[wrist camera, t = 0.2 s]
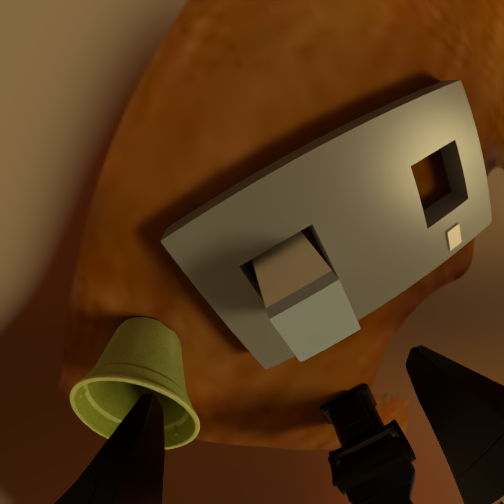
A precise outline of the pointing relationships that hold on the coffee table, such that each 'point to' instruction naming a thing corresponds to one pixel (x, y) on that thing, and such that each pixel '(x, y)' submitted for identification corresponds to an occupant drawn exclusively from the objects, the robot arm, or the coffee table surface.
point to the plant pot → (137, 381)
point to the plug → (303, 297)
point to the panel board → (342, 212)
